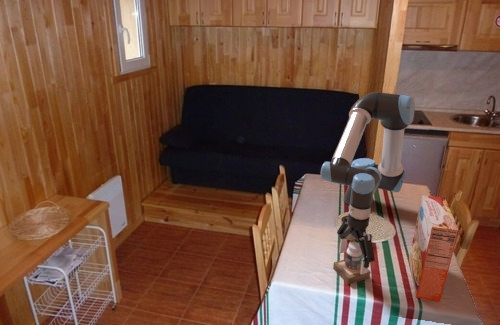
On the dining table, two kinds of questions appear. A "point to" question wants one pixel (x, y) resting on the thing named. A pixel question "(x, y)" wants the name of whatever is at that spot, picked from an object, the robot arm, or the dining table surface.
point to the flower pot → (347, 229)
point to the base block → (349, 273)
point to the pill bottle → (353, 256)
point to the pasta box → (432, 247)
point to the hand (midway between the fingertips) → (352, 262)
